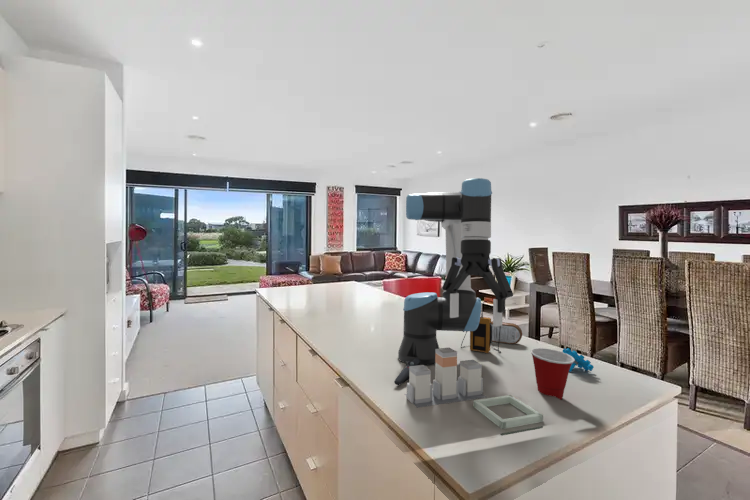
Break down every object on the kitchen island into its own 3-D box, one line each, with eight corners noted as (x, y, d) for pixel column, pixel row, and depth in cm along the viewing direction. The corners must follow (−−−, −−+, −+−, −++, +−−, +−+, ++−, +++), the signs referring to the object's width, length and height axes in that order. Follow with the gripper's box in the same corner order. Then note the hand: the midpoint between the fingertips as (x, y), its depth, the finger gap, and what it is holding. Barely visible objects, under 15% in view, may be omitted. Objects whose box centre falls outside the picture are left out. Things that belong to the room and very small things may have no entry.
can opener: (410, 371, 116) (411, 354, 116) (431, 376, 113) (431, 358, 113) (383, 391, 101) (384, 371, 101) (406, 397, 98) (406, 376, 97)
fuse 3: (459, 390, 98) (459, 361, 98) (472, 388, 100) (473, 359, 99) (467, 396, 94) (468, 366, 94) (481, 394, 96) (481, 364, 95)
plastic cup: (572, 410, 91) (573, 362, 90) (526, 399, 96) (527, 355, 96) (575, 394, 100) (576, 351, 99) (532, 385, 105) (533, 345, 105)
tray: (473, 412, 89) (473, 400, 89) (510, 406, 92) (510, 394, 92) (501, 435, 78) (502, 422, 78) (542, 428, 82) (543, 414, 82)
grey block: (408, 396, 94) (409, 366, 93) (423, 394, 95) (423, 364, 95) (415, 403, 90) (415, 371, 90) (430, 401, 91) (430, 370, 91)
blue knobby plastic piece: (601, 370, 114) (580, 349, 113) (591, 385, 113) (569, 363, 112) (575, 363, 125) (556, 344, 124) (566, 377, 123) (546, 357, 123)
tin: (522, 344, 149) (522, 323, 149) (521, 346, 146) (522, 325, 146) (484, 339, 155) (484, 319, 155) (483, 341, 152) (483, 321, 152)
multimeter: (504, 348, 142) (505, 298, 141) (498, 355, 133) (499, 301, 133) (468, 342, 150) (469, 294, 149) (460, 348, 141) (460, 298, 141)
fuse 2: (434, 393, 96) (435, 348, 96) (448, 391, 97) (449, 347, 97) (442, 399, 92) (443, 353, 92) (456, 397, 93) (457, 352, 93)
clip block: (402, 399, 95) (403, 379, 95) (471, 390, 102) (471, 371, 102) (415, 413, 88) (415, 391, 88) (488, 402, 94) (488, 381, 94)
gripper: (430, 239, 101) (429, 315, 101) (510, 237, 81) (509, 331, 81) (448, 240, 106) (447, 313, 105) (528, 238, 86) (527, 327, 86)
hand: (474, 321), depth 93 cm, fingers open, 13 cm apart
